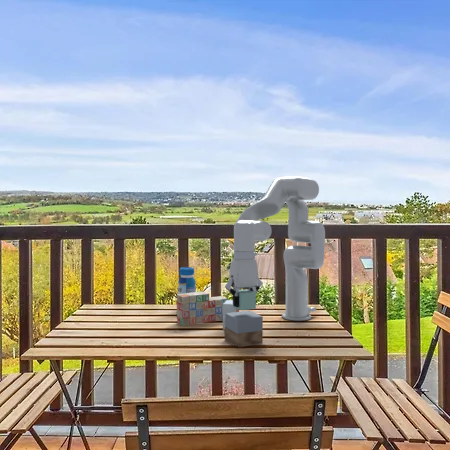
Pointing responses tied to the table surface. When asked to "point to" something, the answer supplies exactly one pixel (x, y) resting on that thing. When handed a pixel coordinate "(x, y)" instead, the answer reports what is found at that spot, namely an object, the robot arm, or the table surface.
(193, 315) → the stack of blocks
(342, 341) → the table surface
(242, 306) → the green cube
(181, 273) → the beverage bottle
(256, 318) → the grey block
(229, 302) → the small box
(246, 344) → the walnut block
